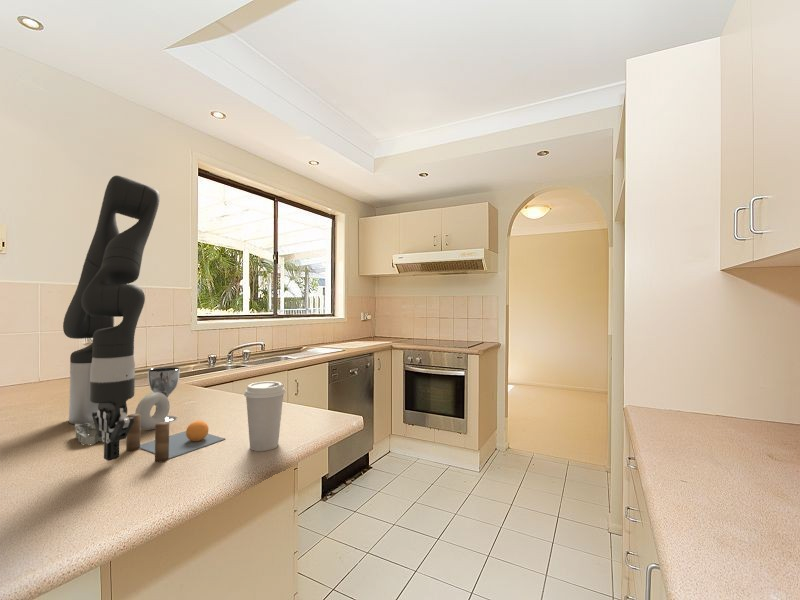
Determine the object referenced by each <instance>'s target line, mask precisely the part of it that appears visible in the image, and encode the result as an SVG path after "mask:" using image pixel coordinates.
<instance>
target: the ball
mask: <svg viewBox="0 0 800 600" xmlns="http://www.w3.org/2000/svg"><path fill="white" fill-rule="evenodd" d="M209 430H210V429H209V424H208V423H206V421H203V420H194V421H192V422H191V423H189V425H188V426H187V427H186V430H185V431H186V436H187V438H188V439H189V440H191V441H200V440H202V439H204V438H205V437H206V436H207V434H209V432H210V431H209Z"/></svg>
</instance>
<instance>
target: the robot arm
mask: <svg viewBox="0 0 800 600" xmlns="http://www.w3.org/2000/svg"><path fill="white" fill-rule="evenodd" d="M160 199H161V198H160V192H159V191H158V190H157V189H156V188H154V187H151V186H149V185H147V184H144V183H141V182H138V181H136V180H133V179H130V178H128V177H124V176H121V175H113V176H112V177H111V178H110V179H109V180H108V183H107V185H106V188H105V191H104V195H103V199H102V203H101V208H100V212H99V215H98V219H97V224H96V228H95V230H94V231H95V232H94V234H93V237H92V240H91V242H90V245H89V248H88V250H87V254H86V257H85V259H84V263H83V265H82V270H81V274H80V277H79V280H78V284H77V287H76V290H75V292H74V295H73V297H72V299H71V301H70V304H69V305H68V306H67V307H68V308H67V309H66V312H65V314H64V318H63V324H62V329H63V333H64V336H65V337H67V338H69V339H74V340H75V339H77V340H78V339H79V340H81V339H92V343H90V344H89V345H87V346H86V347H83V348H80V349H78V350H75V351H73V352H72V353H71V354H70V361H69V362H70V363H69V364H70V365H69V399H68V400H69V401H68V402H69V405H68V406H69V407H68V410H69V411H68V423H69V424H71V425H72V424H73V425H75V424H85V423H91V422H93V423H94V424H95V427H96V430H97V433H98V437H102V441H101V442H103V459H104V460H106V461H108V462H110V461H113V460H117V459H118V458H119V457H120V443H121V440H125V439H127V434H128V432H129V430H130V428H131V426H132V424H133V422H134V419H133V417H131V418H128V417H127V416H128V406H127V401H128V400H130V399H132V398H134V396H135V386H136V385H135V384H136V383H135V379H136V364H135V356H134V354H135V351H134V350H135V335H136V334H135V333H136V329H137V326H138V322H139V319H140V316H141V313H142V311H143V308H144V307H145V306H144V305H145V301H146V296H145V293H144V291H143V289H142V287H140V286H138V285H137V284H133V283H134V282H136V281H137V280H138V278H139V276H140V272H141V266H142V261H143V256H144V255H143V254H144V251H145V247H146V244H147V242H148V239H149V236H150V233H151V230H152V229H153V225H154V222H155V219H156V216H157V212H158V209H159V205H160ZM117 214H119V215H122V216H126V217H128V218H132V219H136V220H138V221H136V223H135V224H133V225H132V226H131V227H129V228H128V229H125V230H124V231H122V232H120V231H119V227H118V224H117V216H116V215H117ZM114 317H119V318H121V317H122V321H121V322H119V323H118V325H115V318H114ZM114 325H115V326H114Z"/></svg>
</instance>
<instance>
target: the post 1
mask: <svg viewBox="0 0 800 600" xmlns="http://www.w3.org/2000/svg"><path fill="white" fill-rule="evenodd" d="M127 417H128V418H131V417H133V419H134V422H133V424H132V426H131V428H130V430H129V432H128V434H127V436H126V443H125V444H126V445H125V446H126V447H125V448H126V451H127V452H134V451H138V450H139V449H140V445H141V427H140V414H135V413H131V414H127Z"/></svg>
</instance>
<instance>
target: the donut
mask: <svg viewBox="0 0 800 600" xmlns="http://www.w3.org/2000/svg"><path fill="white" fill-rule="evenodd" d="M154 406H155V410H154V413H153V415H151V411H152V408H153V407H154ZM170 407H171V405H170V400H169V397H168V398H167V397H166V396H165V395H164V394H162V393H160V392H150V393H148V394H146V395H145V396H144V397H143V398H142V399H141V400H140V401H139V403H138V404H137V406H136V409H135V413H134V414H140V429H143V430H147V431H149V430H155V424H157V423H160V422H164V421H165V419H166V418H167V416H169V412H170V409H171V408H170Z"/></svg>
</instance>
